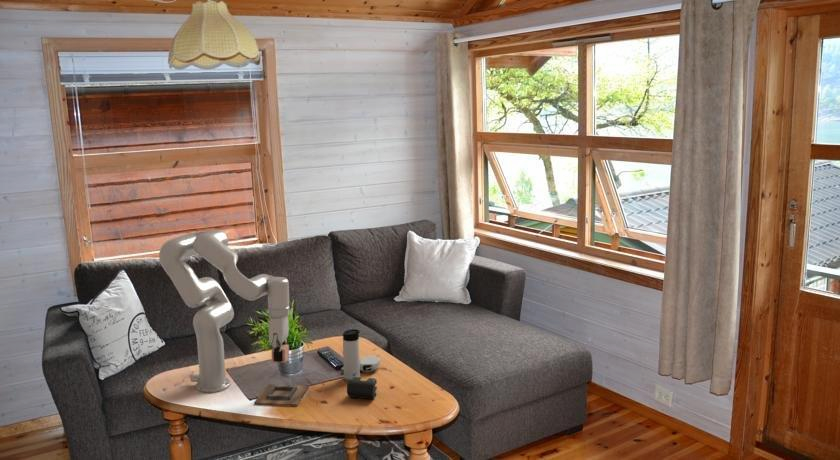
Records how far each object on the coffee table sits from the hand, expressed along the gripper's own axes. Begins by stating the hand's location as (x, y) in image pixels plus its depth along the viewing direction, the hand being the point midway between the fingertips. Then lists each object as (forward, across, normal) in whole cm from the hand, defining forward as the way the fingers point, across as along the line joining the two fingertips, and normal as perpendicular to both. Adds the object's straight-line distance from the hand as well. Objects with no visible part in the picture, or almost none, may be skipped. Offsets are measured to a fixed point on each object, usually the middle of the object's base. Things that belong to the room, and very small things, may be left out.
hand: (280, 357), depth 254 cm
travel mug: (+15, -18, +23) cm, 33 cm away
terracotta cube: (+1, 0, 0) cm, 1 cm away
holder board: (+15, 0, 0) cm, 15 cm away
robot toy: (+15, -28, +25) cm, 40 cm away
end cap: (+15, -2, +30) cm, 34 cm away
